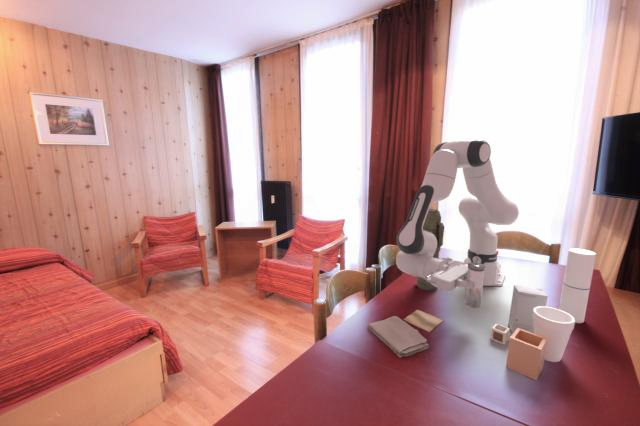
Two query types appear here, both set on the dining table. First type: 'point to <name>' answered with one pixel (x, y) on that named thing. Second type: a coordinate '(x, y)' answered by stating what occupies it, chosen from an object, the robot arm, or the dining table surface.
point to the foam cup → (553, 330)
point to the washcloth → (399, 336)
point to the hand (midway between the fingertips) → (477, 282)
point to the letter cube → (500, 333)
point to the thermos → (437, 228)
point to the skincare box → (525, 307)
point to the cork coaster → (423, 320)
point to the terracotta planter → (526, 353)
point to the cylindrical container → (577, 283)
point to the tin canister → (475, 293)
